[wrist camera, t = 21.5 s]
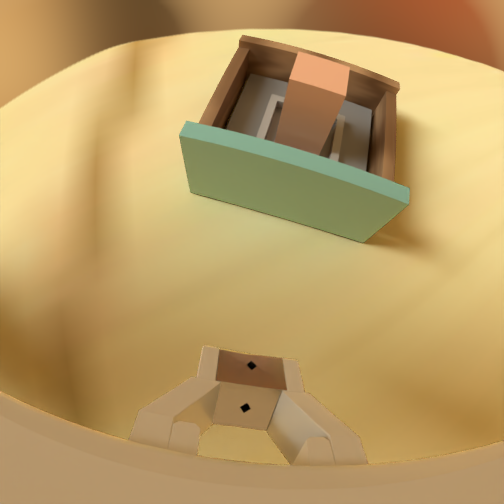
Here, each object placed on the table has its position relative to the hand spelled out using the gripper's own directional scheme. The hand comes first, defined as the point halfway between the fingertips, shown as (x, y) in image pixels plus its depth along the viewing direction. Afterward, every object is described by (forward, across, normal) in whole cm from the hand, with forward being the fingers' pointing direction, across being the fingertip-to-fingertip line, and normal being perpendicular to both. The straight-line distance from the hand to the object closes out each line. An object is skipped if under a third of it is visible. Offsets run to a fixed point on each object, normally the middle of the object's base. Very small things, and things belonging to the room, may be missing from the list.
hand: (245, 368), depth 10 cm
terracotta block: (+25, -4, -8) cm, 27 cm away
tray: (+26, -4, -7) cm, 27 cm away
